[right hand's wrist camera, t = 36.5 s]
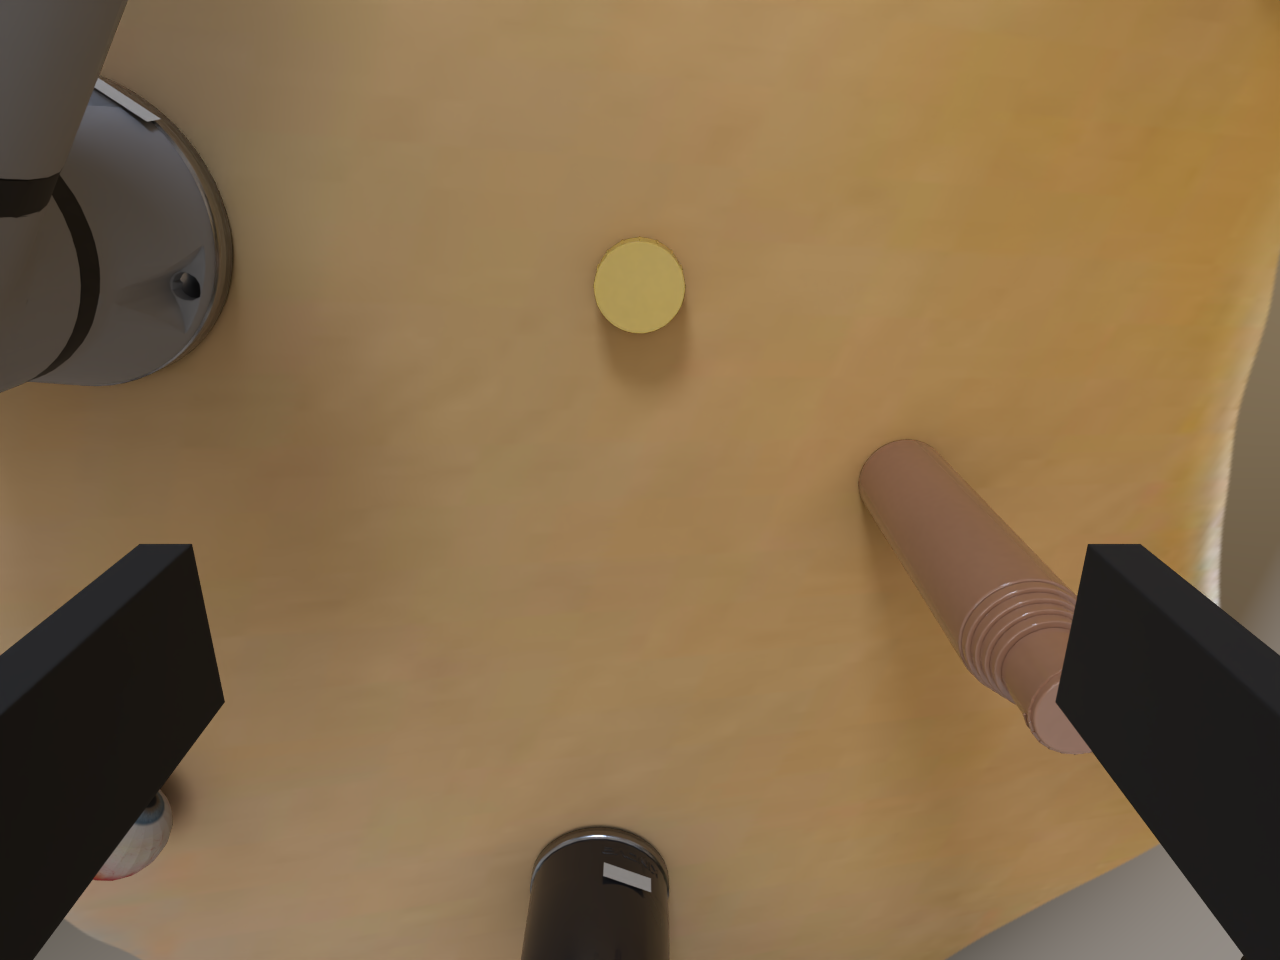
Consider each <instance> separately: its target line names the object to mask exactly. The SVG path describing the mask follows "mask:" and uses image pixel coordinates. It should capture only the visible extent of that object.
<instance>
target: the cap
mask: <svg viewBox="0 0 1280 960" xmlns="http://www.w3.org/2000/svg"><path fill="white" fill-rule="evenodd" d="M596 270H597V272H596V276H595V281H594V285H593V288H594V293H595V299H596V302H597V305H598V307H599V309H600V311H601V313H602V314H603V315H604V317H605V318H606V319H607V320H608V321H609V322H610V323H611V324H613V325H614V326H615V327H617V328H619V329H621V330H624V331H626V332H630V333H649V332H653V331H655V330H658V329H660V328H662V327H664V326H665V325H666V324H668V323H669V322H670V321H671V320H672V319H673V318H674V317H675V315H676V314H677V313H678V311H679V309H680V307H681V306H682V302H683V299H684V294H685V288H686V286H685V281H684V276H683V272H682V270H683V269H682V266H681V265H680V264H679V262H678V260H677V258H676V257H675V255H674V254H673V251H672V250H669V249H668V248H667V247H666V246H665V245H663V244H661V243H660V242H658V240H656V241H655V240H652V239H649V238H641V236H639V238H630V239H627V240H624V241H623V240H621V242H619V243H618V244H616V245H614V246H613V247H612V248H611V249H610V250H607V252H606V254H605V255H604V257H603V258H602V260H601V262H600V264H598V266H597V269H596Z"/></svg>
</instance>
